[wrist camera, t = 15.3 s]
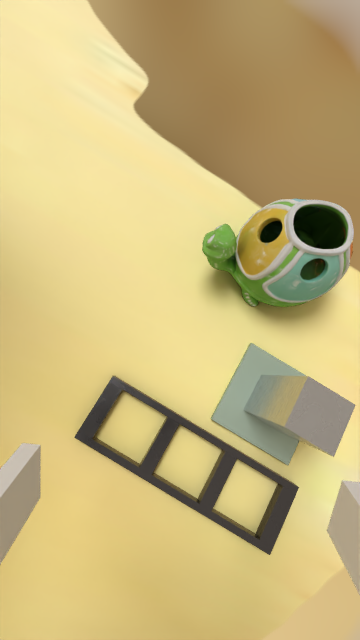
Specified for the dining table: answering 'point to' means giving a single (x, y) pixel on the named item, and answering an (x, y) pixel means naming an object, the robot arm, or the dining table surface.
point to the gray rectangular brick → (301, 410)
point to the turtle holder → (285, 251)
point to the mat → (238, 395)
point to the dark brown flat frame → (216, 480)
